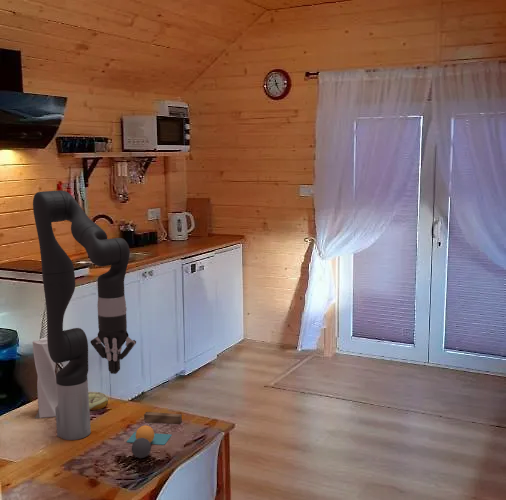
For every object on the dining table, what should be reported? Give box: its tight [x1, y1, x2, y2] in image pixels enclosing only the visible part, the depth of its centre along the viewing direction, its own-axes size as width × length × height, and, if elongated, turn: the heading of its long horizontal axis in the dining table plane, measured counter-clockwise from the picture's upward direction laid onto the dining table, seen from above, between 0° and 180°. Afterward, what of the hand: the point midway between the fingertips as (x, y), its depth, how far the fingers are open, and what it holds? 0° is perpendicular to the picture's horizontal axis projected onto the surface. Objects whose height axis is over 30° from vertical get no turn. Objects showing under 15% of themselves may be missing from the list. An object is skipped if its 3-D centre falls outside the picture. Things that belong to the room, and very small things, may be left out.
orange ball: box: [135, 425, 155, 443], centre depth 190 cm, size 6×6×6 cm
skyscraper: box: [32, 336, 58, 419], centre depth 211 cm, size 8×8×28 cm
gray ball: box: [131, 438, 152, 459], centre depth 181 cm, size 6×6×6 cm
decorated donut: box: [88, 391, 109, 411], centre depth 220 cm, size 10×11×4 cm
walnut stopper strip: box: [143, 411, 183, 425], centre depth 205 cm, size 12×2×2 cm, turn 79°
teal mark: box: [126, 431, 173, 446], centre depth 193 cm, size 12×7×1 cm, turn 78°
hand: (114, 372), depth 175 cm, fingers closed
